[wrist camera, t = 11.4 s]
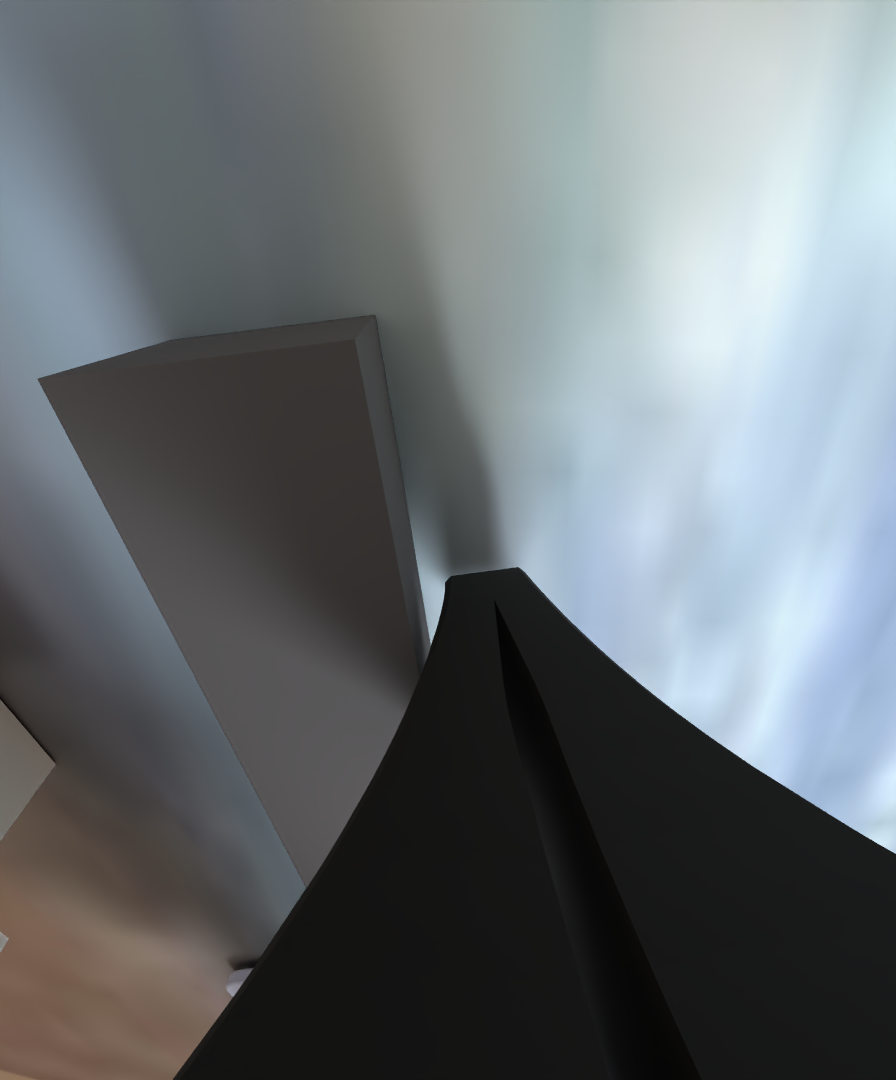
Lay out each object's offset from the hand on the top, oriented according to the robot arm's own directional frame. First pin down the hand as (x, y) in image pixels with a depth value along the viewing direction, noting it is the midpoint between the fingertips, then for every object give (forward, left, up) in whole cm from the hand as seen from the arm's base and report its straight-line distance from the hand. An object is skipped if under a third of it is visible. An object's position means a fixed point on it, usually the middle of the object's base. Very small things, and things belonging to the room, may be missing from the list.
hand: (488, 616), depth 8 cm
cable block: (0, +3, -1) cm, 3 cm away
